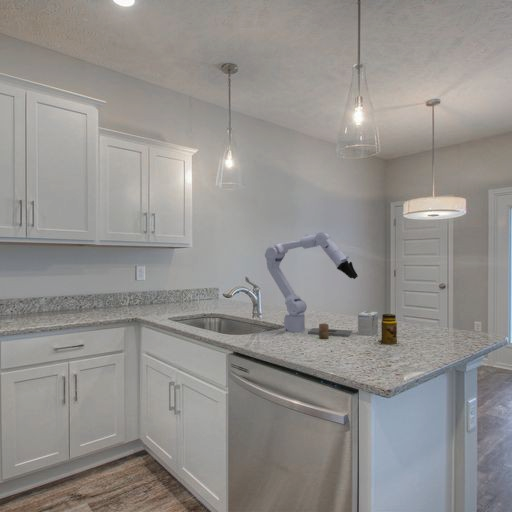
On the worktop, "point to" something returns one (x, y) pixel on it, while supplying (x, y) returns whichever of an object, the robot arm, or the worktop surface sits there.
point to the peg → (323, 331)
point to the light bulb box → (368, 323)
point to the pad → (324, 339)
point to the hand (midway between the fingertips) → (354, 277)
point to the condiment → (388, 330)
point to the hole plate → (332, 332)
